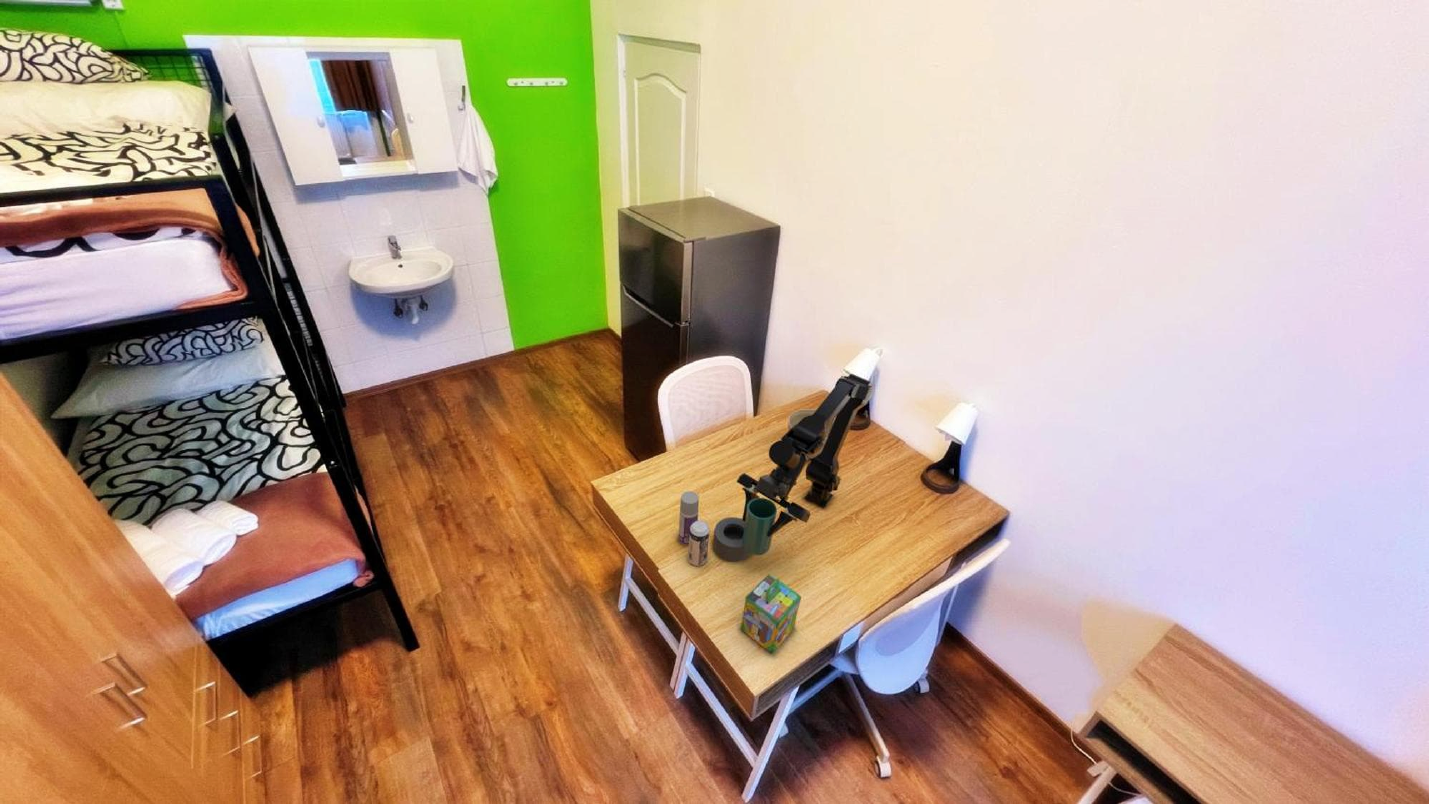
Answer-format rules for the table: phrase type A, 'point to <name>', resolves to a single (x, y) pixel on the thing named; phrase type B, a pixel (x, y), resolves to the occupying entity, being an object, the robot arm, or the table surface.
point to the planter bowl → (798, 416)
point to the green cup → (758, 526)
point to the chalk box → (770, 612)
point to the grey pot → (729, 539)
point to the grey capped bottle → (698, 542)
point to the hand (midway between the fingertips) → (755, 528)
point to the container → (687, 515)
